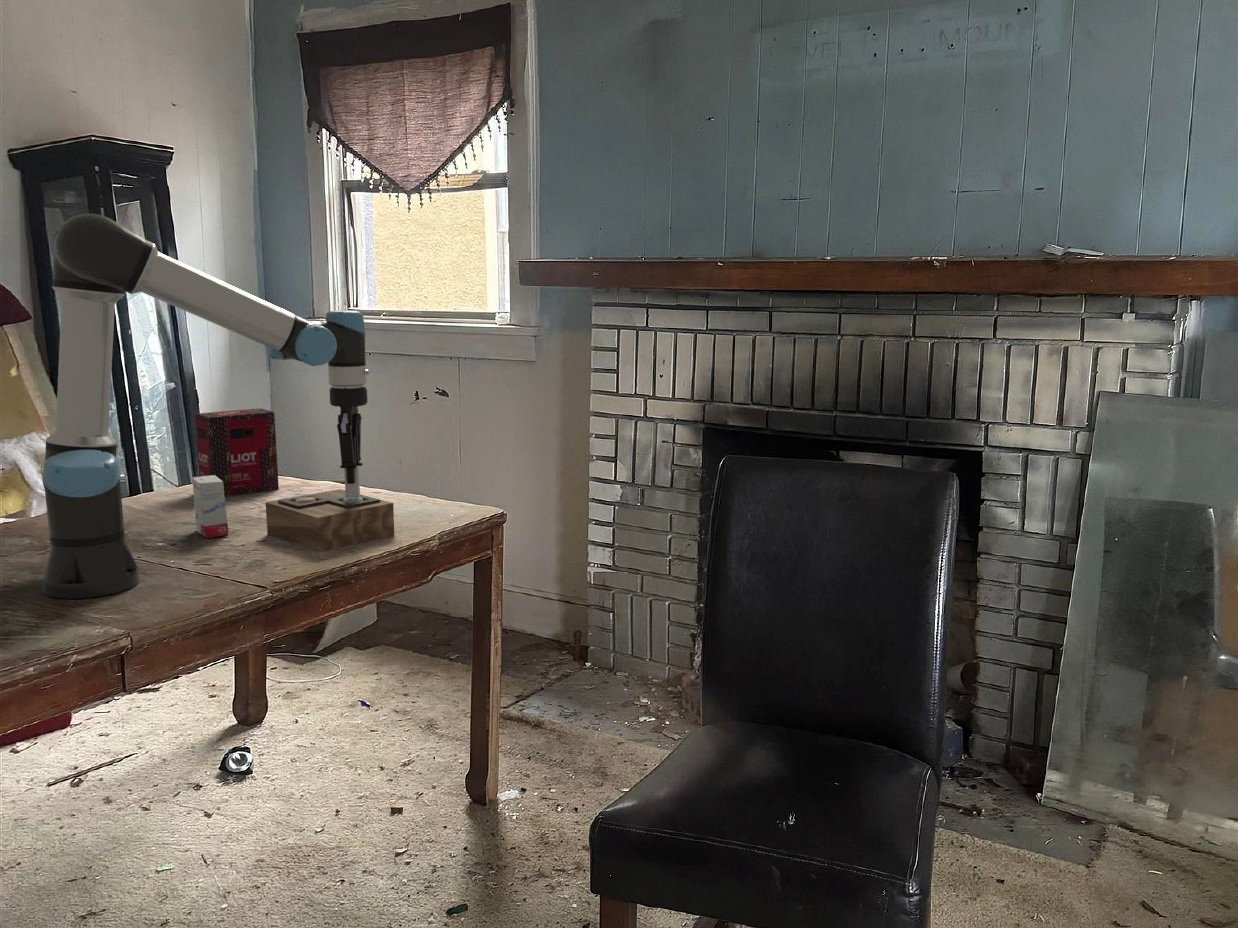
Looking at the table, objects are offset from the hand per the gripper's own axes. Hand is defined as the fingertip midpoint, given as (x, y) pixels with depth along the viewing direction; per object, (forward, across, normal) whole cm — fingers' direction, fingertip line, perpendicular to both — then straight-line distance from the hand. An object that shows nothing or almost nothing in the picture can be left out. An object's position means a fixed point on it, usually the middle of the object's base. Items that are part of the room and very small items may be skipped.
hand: (352, 497), depth 214 cm
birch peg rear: (+8, 0, +10) cm, 13 cm away
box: (+8, +45, +37) cm, 59 cm away
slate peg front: (+8, 0, 0) cm, 8 cm away
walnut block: (+8, 0, +5) cm, 9 cm away
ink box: (+8, +2, +30) cm, 32 cm away
